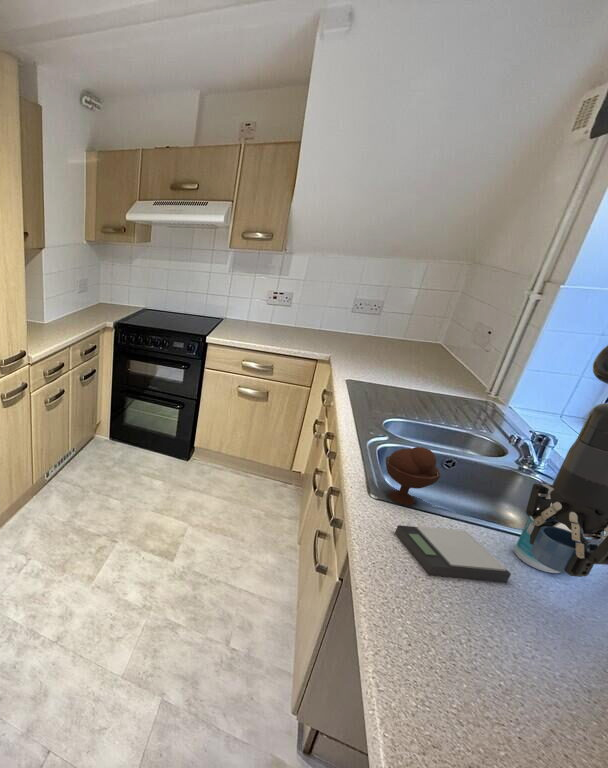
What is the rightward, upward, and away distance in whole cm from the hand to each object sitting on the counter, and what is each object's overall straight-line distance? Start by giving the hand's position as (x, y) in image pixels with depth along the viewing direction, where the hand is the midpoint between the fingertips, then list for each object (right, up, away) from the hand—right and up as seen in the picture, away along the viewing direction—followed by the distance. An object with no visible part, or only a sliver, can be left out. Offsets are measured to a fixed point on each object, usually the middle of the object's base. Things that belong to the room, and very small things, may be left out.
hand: (554, 559), depth 68 cm
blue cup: (0, -1, 0) cm, 1 cm away
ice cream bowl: (+1, 0, +36) cm, 36 cm away
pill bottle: (+15, -8, +17) cm, 24 cm away
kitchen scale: (-3, -7, +18) cm, 19 cm away
